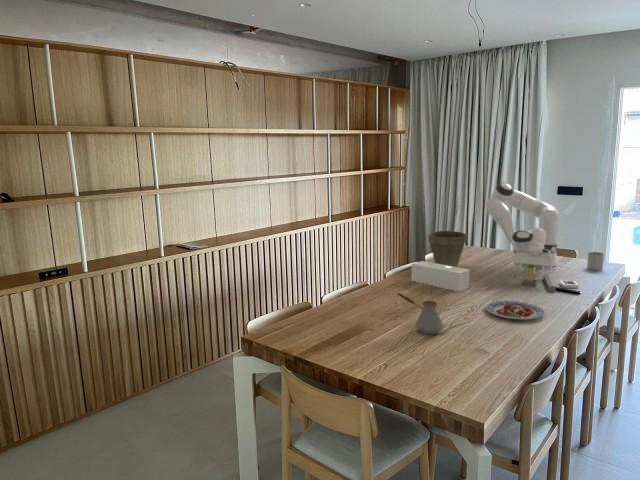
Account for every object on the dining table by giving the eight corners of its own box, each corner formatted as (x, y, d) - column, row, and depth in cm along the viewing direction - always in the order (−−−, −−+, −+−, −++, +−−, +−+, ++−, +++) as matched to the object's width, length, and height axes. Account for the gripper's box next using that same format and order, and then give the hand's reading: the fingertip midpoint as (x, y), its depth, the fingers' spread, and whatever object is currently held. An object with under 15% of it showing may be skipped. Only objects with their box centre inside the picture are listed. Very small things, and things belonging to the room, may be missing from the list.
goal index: (524, 281, 274) (524, 278, 273) (538, 283, 269) (538, 279, 269) (521, 284, 267) (521, 281, 267) (535, 286, 263) (536, 283, 263)
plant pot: (465, 271, 300) (466, 237, 296) (426, 268, 308) (426, 236, 304) (466, 262, 324) (467, 231, 320) (430, 260, 332) (430, 230, 327)
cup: (598, 267, 301) (599, 252, 299) (604, 270, 293) (606, 254, 291) (584, 267, 302) (586, 252, 300) (590, 270, 294) (592, 255, 292)
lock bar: (526, 282, 271) (527, 265, 269) (534, 283, 269) (535, 266, 267) (525, 284, 268) (526, 266, 266) (532, 285, 266) (534, 267, 264)
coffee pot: (446, 329, 204) (447, 296, 202) (436, 338, 195) (437, 304, 192) (402, 320, 217) (402, 289, 214) (390, 328, 207) (390, 296, 205)
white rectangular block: (411, 281, 281) (411, 264, 279) (421, 277, 288) (422, 260, 286) (459, 292, 258) (459, 273, 256) (469, 287, 265) (469, 269, 263)
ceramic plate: (496, 301, 240) (496, 296, 240) (550, 311, 224) (551, 305, 224) (477, 315, 221) (477, 309, 220) (535, 327, 205) (535, 321, 204)
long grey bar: (543, 278, 278) (543, 273, 277) (548, 279, 277) (549, 273, 276) (549, 291, 254) (549, 285, 253) (555, 291, 253) (555, 285, 252)
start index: (559, 283, 267) (559, 280, 266) (573, 284, 265) (574, 281, 265) (563, 287, 260) (563, 284, 259) (578, 288, 258) (578, 284, 258)
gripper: (515, 248, 276) (510, 267, 270) (553, 251, 265) (549, 271, 259) (516, 253, 281) (512, 273, 275) (554, 257, 270) (550, 277, 264)
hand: (530, 272), depth 267 cm, fingers open, 8 cm apart
